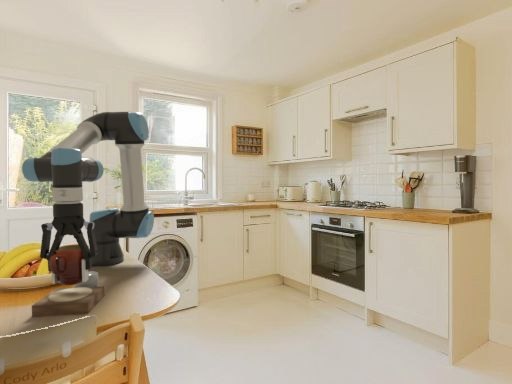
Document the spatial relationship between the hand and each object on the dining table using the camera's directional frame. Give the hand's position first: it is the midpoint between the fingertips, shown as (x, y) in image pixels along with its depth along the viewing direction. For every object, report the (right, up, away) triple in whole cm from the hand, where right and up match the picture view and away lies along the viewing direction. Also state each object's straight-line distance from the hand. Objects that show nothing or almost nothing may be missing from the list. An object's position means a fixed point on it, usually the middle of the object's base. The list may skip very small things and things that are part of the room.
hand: (70, 281), depth 94 cm
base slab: (0, -7, 0) cm, 7 cm away
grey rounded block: (-4, -6, +18) cm, 19 cm away
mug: (-1, -1, 0) cm, 1 cm away
